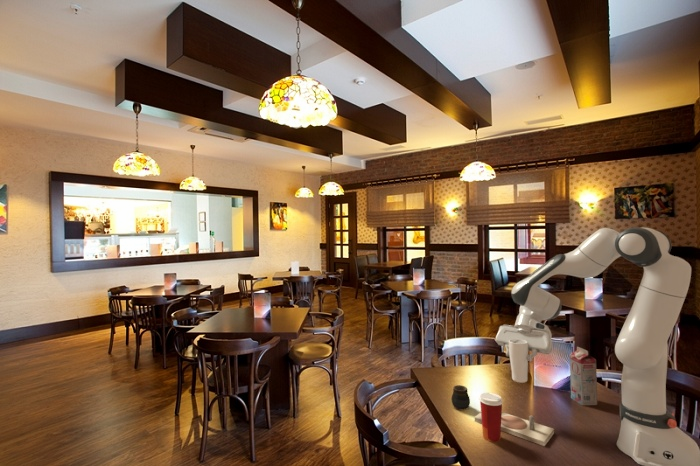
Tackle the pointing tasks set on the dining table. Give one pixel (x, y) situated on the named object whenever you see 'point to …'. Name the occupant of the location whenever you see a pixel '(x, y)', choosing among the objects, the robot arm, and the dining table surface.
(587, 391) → the juice carton
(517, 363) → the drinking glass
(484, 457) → the dining table surface
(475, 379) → the dining table surface
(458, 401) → the mate gourd
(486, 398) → the paper cup
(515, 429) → the pin board
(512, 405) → the dining table surface
